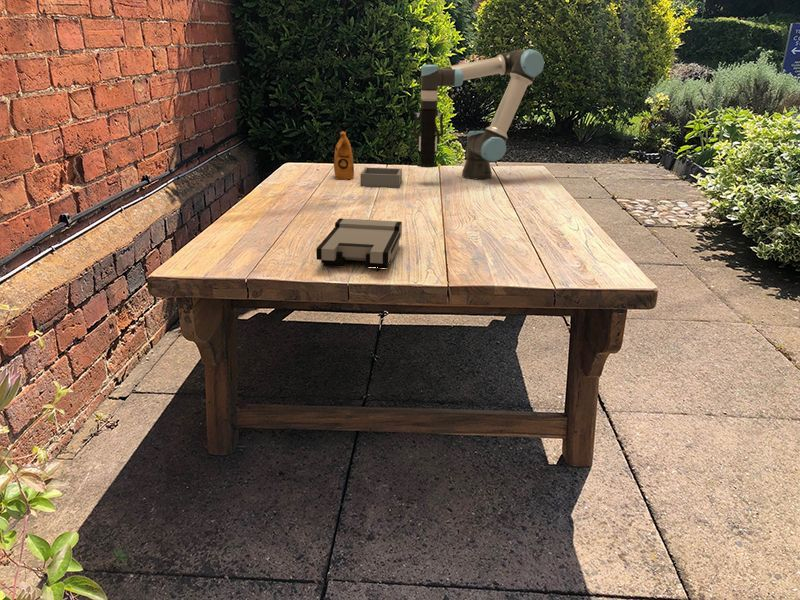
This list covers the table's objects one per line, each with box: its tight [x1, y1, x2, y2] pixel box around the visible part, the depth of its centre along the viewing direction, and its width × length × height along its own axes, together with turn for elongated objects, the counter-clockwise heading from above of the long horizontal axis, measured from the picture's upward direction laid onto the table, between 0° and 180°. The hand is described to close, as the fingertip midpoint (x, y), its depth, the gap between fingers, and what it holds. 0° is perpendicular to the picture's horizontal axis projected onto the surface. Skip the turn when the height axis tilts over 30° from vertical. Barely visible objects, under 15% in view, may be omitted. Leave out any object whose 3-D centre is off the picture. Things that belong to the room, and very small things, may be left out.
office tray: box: [315, 218, 403, 269], centre depth 208 cm, size 21×32×8 cm, turn 173°
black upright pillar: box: [416, 109, 439, 169], centre depth 316 cm, size 10×26×10 cm
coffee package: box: [333, 130, 355, 180], centre depth 330 cm, size 10×12×22 cm
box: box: [359, 167, 403, 189], centre depth 321 cm, size 18×18×6 cm
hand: (427, 150), depth 319 cm, fingers closed on black upright pillar, 7 cm apart
